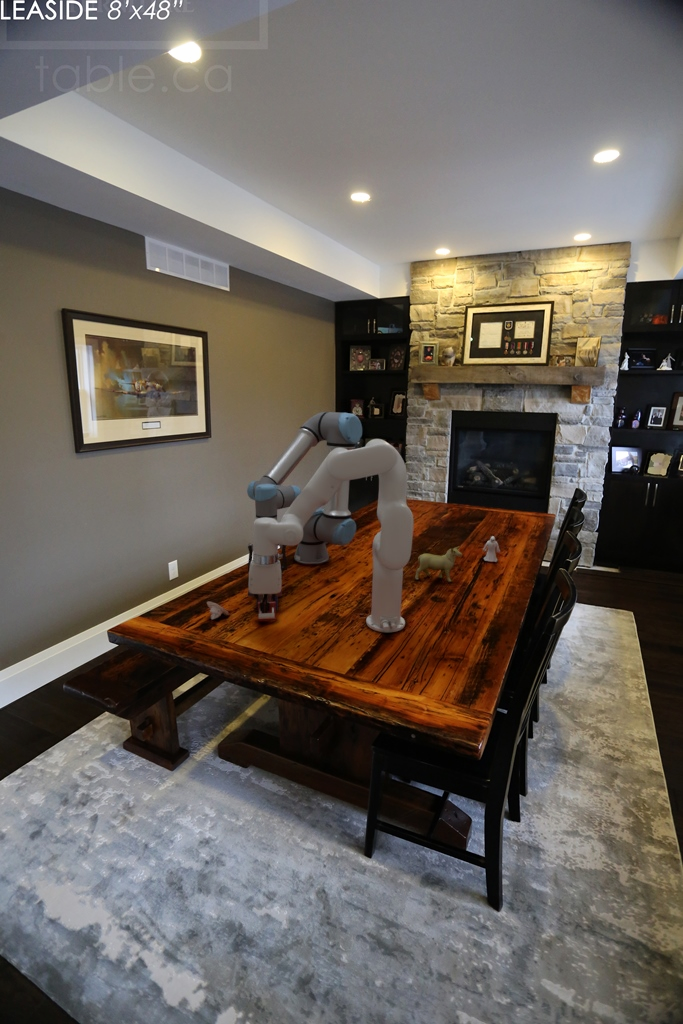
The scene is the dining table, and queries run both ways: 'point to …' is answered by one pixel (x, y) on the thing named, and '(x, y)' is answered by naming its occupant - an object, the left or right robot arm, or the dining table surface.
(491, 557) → the figurine
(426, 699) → the dining table surface
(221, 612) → the seashell
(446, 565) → the toy
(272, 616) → the drawer
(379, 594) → the right robot arm
